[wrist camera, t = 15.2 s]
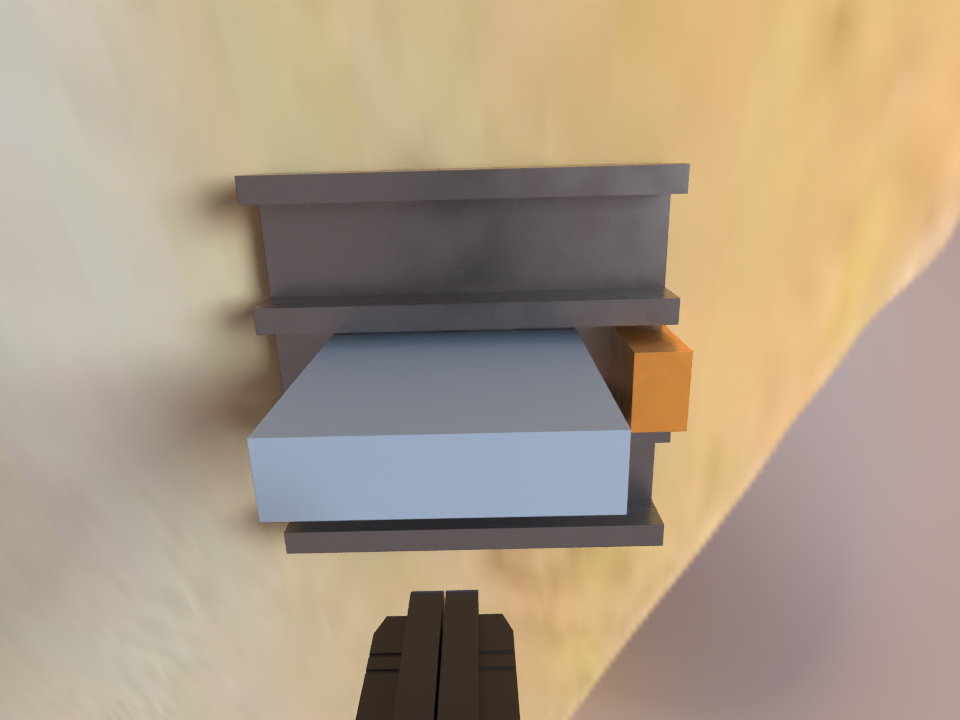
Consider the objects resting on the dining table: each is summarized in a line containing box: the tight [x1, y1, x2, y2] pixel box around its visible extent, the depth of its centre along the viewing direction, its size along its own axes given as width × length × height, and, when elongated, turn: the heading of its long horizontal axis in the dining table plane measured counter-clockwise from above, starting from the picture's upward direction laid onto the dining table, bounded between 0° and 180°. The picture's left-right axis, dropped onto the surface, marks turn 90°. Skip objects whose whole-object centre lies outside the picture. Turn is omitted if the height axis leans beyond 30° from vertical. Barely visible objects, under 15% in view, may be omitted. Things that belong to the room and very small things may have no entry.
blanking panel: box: [247, 330, 631, 522], centre depth 26 cm, size 12×3×12 cm, turn 91°
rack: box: [235, 163, 693, 554], centre depth 30 cm, size 19×18×6 cm
